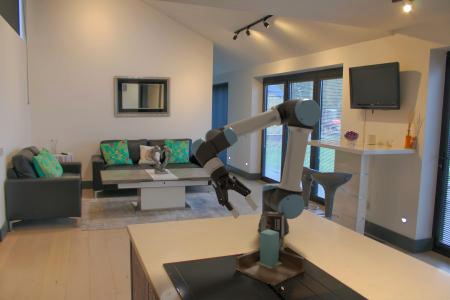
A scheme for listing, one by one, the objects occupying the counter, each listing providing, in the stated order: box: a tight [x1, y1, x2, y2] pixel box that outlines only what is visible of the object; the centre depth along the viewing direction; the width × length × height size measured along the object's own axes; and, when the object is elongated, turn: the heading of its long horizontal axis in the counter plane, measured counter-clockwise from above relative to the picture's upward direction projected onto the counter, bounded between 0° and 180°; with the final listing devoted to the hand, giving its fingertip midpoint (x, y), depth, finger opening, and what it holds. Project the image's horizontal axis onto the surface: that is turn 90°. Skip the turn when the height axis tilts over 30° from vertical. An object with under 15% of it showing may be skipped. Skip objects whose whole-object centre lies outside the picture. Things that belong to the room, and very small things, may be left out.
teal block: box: [259, 229, 279, 266], centre depth 146 cm, size 5×5×12 cm
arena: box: [235, 247, 306, 286], centre depth 142 cm, size 18×18×5 cm
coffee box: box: [260, 211, 285, 251], centre depth 161 cm, size 9×6×16 cm
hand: (247, 212), depth 150 cm, fingers open, 13 cm apart
